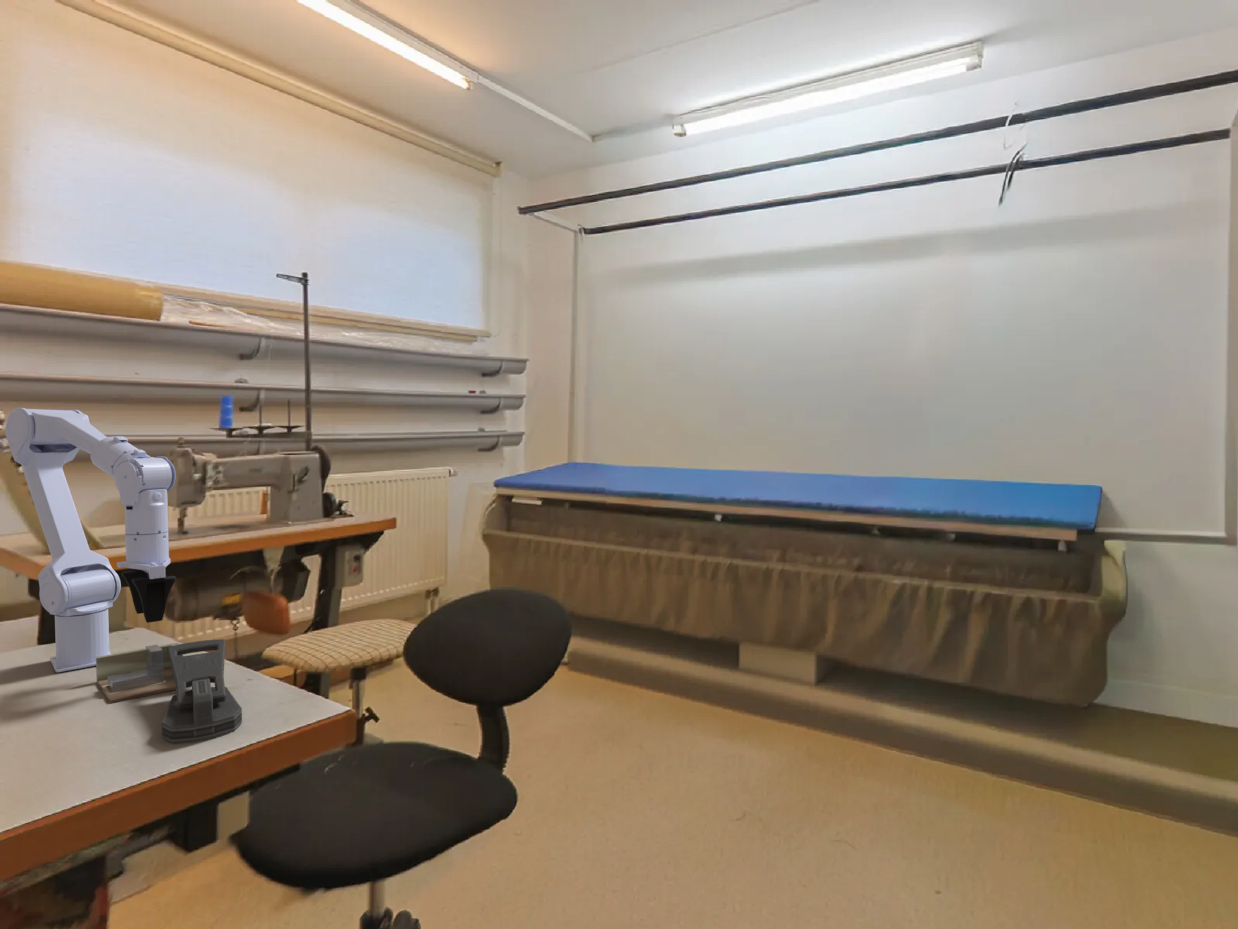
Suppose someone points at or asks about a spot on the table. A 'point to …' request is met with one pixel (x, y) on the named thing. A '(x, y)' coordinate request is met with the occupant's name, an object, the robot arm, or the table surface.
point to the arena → (130, 663)
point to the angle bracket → (141, 672)
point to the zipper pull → (199, 695)
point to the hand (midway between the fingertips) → (149, 616)
